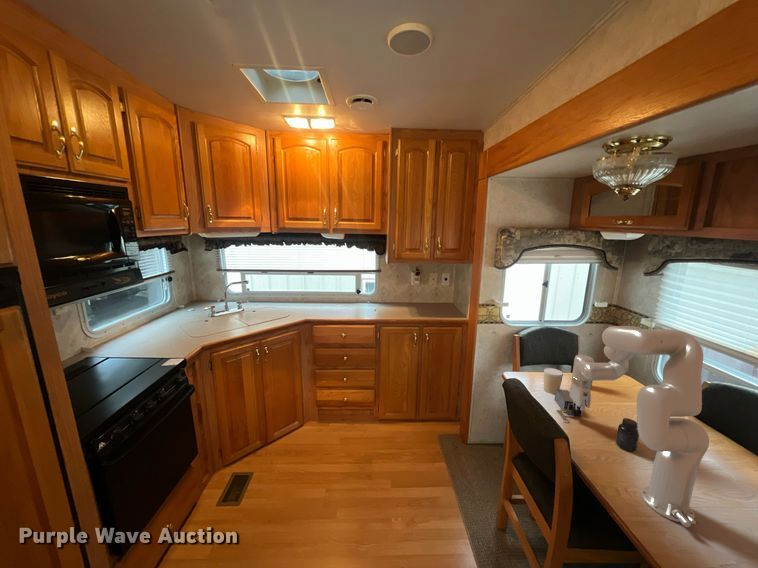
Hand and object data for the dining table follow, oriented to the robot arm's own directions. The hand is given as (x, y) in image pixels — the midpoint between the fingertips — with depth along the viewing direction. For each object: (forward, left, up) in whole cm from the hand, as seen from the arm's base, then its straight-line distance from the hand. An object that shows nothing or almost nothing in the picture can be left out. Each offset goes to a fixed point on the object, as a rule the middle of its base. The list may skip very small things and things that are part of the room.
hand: (576, 415), depth 138 cm
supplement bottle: (-15, -13, -3) cm, 20 cm away
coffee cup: (+27, +1, -3) cm, 27 cm away
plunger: (+8, +2, -2) cm, 8 cm away
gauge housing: (+8, +2, -3) cm, 8 cm away
